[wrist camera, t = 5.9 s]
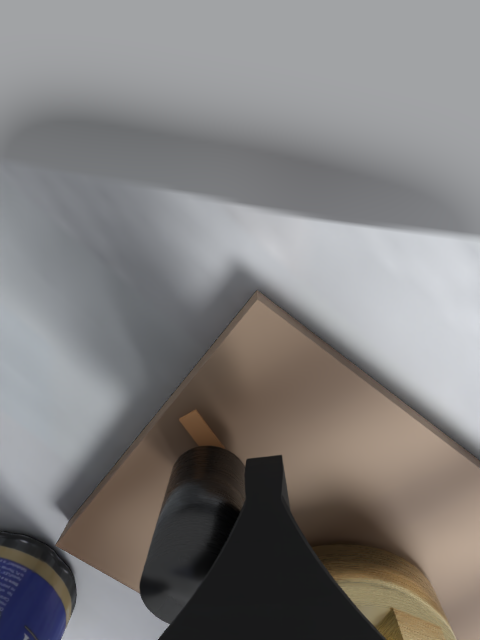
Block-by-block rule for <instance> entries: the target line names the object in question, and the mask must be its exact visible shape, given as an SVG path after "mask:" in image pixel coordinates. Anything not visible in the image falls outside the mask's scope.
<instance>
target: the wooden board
mask: <svg viewBox="0 0 480 640" xmlns="http://www.w3.org/2000/svg"><path fill="white" fill-rule="evenodd" d="M199 446H217V447H221V448H224V449H226V450H228V451H230V452H232V453H234V454H235V455H236V456H237V457H238V458H239V459H240V460H241V461H242V462H243V464H244V466H245V465H246V459H249V458H258V457H267V456H275V455H282V458H283V465H284V471H285V478H286V484H287V491H288V497H289V504H290V510H291V513H292V515H293V517H294V519H295V521H296V523H297V524H298V526H299V528H300V529H301V531H302V533H303V535H304V536H305V538H306V539H307V541H308V543H309V544H310V546H311V547H315V546H320V545H326V544H339V543H340V544H359V545H367V546H371V547H376V548H380V549H383V550H386V551H389V552H391V553H394V554H396V555H398V556H400V557H402V558H404V559H405V560H407V561H408V562H410V563H411V564H413V565H414V566H415V567H417V568H418V569H419V570H420V571H421V572H422V573H423V574H424V575H425V577H426V578H427V579H428V580H429V582H430V583H431V585H432V587H433V588H434V590H435V593H436V595H437V597H438V599H439V602H440V604H441V606H442V608H443V610H444V613H445V615H446V617H447V619H448V622H449V624H450V626H451V628H452V631H453V633H454V635H455V637H456V639H457V640H480V460H478V459H477V458H476V457H475V456H473V455H472V454H471V453H469V452H468V451H467V450H465V449H464V448H463V447H461V446H460V445H459V444H458V443H456V442H455V441H454V440H452V439H451V438H450V437H448V436H447V435H446V434H444V433H443V432H442V431H441V430H439V429H438V428H437V427H435V426H434V425H433V424H431V423H430V422H429V421H428V420H426V419H425V418H424V417H422V416H421V415H420V414H418V413H417V412H416V411H414V410H413V409H412V408H411V407H409V406H408V405H407V404H405V403H404V402H403V401H401V400H400V399H399V398H398V397H396V396H395V395H394V394H392V393H391V392H390V391H388V390H387V389H386V388H384V387H383V386H382V385H381V384H379V383H378V382H377V381H375V380H374V379H373V378H371V377H370V376H369V375H367V374H366V373H365V372H364V371H362V370H361V369H360V368H358V367H357V366H356V365H354V364H353V363H352V362H351V361H349V360H348V359H347V358H345V357H344V356H343V355H341V354H340V353H339V352H337V351H336V350H335V349H334V348H332V347H331V346H330V345H328V344H327V343H326V342H324V341H323V340H322V339H321V338H319V337H318V336H317V335H315V334H314V333H313V332H311V331H310V330H309V329H307V328H306V327H305V326H304V325H302V324H301V323H300V322H298V321H297V320H296V319H294V318H293V317H292V316H290V315H289V314H288V313H287V312H285V311H284V310H283V309H281V308H280V307H279V306H277V305H276V304H275V303H274V302H272V301H271V300H270V299H268V298H267V297H266V296H264V295H263V294H262V293H260V292H259V291H258V290H257V291H256V292H255V293H254V294H253V296H252V297H251V298H250V299H249V301H248V302H247V303H246V304H245V306H244V307H243V308H242V309H241V310H240V312H239V313H238V314H237V315H236V317H235V318H234V319H233V320H232V321H231V323H230V324H229V325H228V326H227V328H226V329H225V330H224V331H223V333H222V334H221V335H220V336H219V337H218V339H217V340H216V341H215V342H214V344H213V345H212V346H211V347H210V349H209V350H208V351H207V352H206V353H205V355H204V356H203V357H202V358H201V360H200V361H199V362H198V363H197V365H196V366H195V367H194V368H193V369H192V371H191V372H190V373H189V374H188V376H187V377H186V378H185V379H184V380H183V382H182V383H181V384H180V385H179V387H178V388H177V389H176V390H175V392H174V393H173V394H172V395H171V396H170V398H169V399H168V400H167V401H166V403H165V404H164V405H163V406H162V408H161V409H160V410H159V411H158V412H157V414H156V415H155V416H154V417H153V419H152V420H151V421H150V422H149V424H148V425H147V426H146V427H145V428H144V430H143V431H142V432H141V433H140V435H139V436H138V437H137V438H136V439H135V441H134V442H133V443H132V444H131V446H130V447H129V448H128V449H127V451H126V452H125V453H124V454H123V455H122V457H121V458H120V459H119V460H118V462H117V463H116V464H115V465H114V467H113V468H112V469H111V470H110V471H109V473H108V474H107V475H106V476H105V478H104V479H103V480H102V481H101V482H100V484H99V485H98V486H97V487H96V489H95V490H94V491H93V492H92V494H91V495H90V496H89V497H88V498H87V500H86V501H85V502H84V503H83V505H82V506H81V507H80V508H79V510H78V511H77V512H76V513H75V514H74V516H73V517H72V518H71V519H70V521H69V522H68V524H67V525H66V527H65V529H64V531H63V533H62V535H61V536H60V538H59V540H58V542H57V544H56V545H55V546H57V547H59V548H61V549H62V550H64V551H66V552H68V553H69V554H71V555H73V556H75V557H76V558H78V559H80V560H82V561H83V562H85V563H87V564H89V565H91V566H92V567H94V568H96V569H98V570H99V571H101V572H103V573H105V574H106V575H108V576H110V577H112V578H113V579H115V580H117V581H119V582H120V583H122V584H124V585H126V586H128V587H129V588H131V589H133V590H135V591H136V592H138V593H140V589H139V586H140V579H141V576H142V572H143V569H144V565H145V562H146V558H147V555H148V551H149V548H150V544H151V541H152V537H153V534H154V530H155V527H156V523H157V520H158V517H159V513H160V510H161V506H162V503H163V499H164V496H165V492H166V489H167V485H168V482H169V478H170V475H171V471H172V468H173V465H174V463H175V462H176V460H177V459H178V458H179V456H181V455H182V454H183V453H184V452H186V451H188V450H190V449H192V448H195V447H199Z"/></svg>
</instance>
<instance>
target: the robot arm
mask: <svg viewBox="0 0 480 640" xmlns="http://www.w3.org/2000/svg"><path fill="white" fill-rule="evenodd" d="M244 480H245V494H246V499H245V502H244V504H243V507H242V509H241V512H240V514H239V516H238V518H237V520H236V522H235V524H234V526H233V528H232V530H231V533H230V535H229V537H228V539H227V541H226V542H225V544H224V546H223V548H222V550H221V551H220V553H219V555H218V557H217V558H216V560H215V562H214V563H213V565H212V567H211V568H210V570H209V572H208V573H207V575H206V576H205V578H204V579H203V581H202V582H201V584H200V585H199V587H198V588H197V589H196V591H195V592H194V594H193V595H192V597H191V598H190V599H189V601H188V602H187V604H186V605H185V606H184V608H183V609H182V610H181V611H180V613H179V614H178V615H177V616H176V618H175V619H174V620H173V621H172V623H171V624H170V625H169V626H168V628H167V629H166V630H165V631H164V633H163V634H162V635H161V636H160V638H159V639H158V640H387V639H386V638H385V637H384V636H383V635H382V634H381V633H380V632H379V631H378V630H377V629H376V628H375V627H374V626H373V624H372V623H371V622H370V621H369V620H368V619H367V618H366V617H365V616H364V615H363V614H362V612H361V611H360V610H359V609H358V608H357V606H356V605H355V604H354V603H353V602H352V600H351V599H350V598H349V597H348V596H347V594H346V593H345V592H344V591H343V590H342V588H341V587H340V586H339V585H338V583H337V582H336V581H335V580H334V578H333V577H332V576H331V574H330V573H329V572H328V570H327V569H326V568H325V566H324V565H323V563H322V562H321V561H320V559H319V558H318V556H317V555H316V553H315V552H314V550H313V549H312V547H311V546H310V544H309V543H308V541H307V539H306V538H305V536H304V535H303V533H302V531H301V529H300V528H299V526H298V524H297V523H296V521H295V519H294V517H293V515H292V513H291V510H290V504H289V497H288V491H287V484H286V478H285V471H284V465H283V458H282V455H275V456H267V457H258V458H249V459H246V465H245V473H244Z"/></svg>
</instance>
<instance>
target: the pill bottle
mask: <svg viewBox="0 0 480 640" xmlns="http://www.w3.org/2000/svg"><path fill="white" fill-rule="evenodd" d="M76 596H77V594H76V585H75V581H74V577H73V575H72V573H71V571H70V569H69V567H68V566H67V565H66V564H65V563H64V562H63V561H62V560H61V559H60V558H59V557H58V556H57V555H56V553H55V552H54V550H52V549H51V548H49V547H48V546H47V545H45V544H44V543H42V542H40V541H37V540H35V539H32V538H30V537H28V536H25V535H21V534H11V533H7V532H0V640H61V638H62V636H63V633H64V631H65V629H66V626H67V624H68V622H69V619H70V617H71V615H72V612H73V610H74V607H75V603H76Z"/></svg>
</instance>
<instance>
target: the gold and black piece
mask: <svg viewBox="0 0 480 640" xmlns="http://www.w3.org/2000/svg"><path fill="white" fill-rule="evenodd" d="M244 473H245V466H244V464H243V462H242V461H241V460H240V459H239V458H238V457H237V456H236V455H235V454H234V453H232V452H230V451H228V450H226V449H224V448H221V447H217V446H199V447H195V448H192V449H190V450H188V451H186V452H184V453H183V454H182V455H181V456H179V458H178V459H177V460H176V462H175V463H174V465H173V468H172V471H171V475H170V478H169V482H168V485H167V489H166V492H165V496H164V499H163V503H162V506H161V510H160V513H159V517H158V520H157V523H156V527H155V530H154V534H153V537H152V541H151V544H150V548H149V551H148V555H147V558H146V562H145V565H144V569H143V572H142V576H141V579H140V586H139V589H140V594H141V598H142V600H143V602H144V604H145V605H146V607H147V608H148V609H149V610H150V611H151V612H152V613H153V614H154V615H155V616H156V617H158V618H159V619H161V620H163V621H165V622H166V623H169V624H171V623H172V621H173V620H174V619H175V618H176V616H177V615H178V614H179V613H180V611H181V610H182V609H183V608H184V606H185V605H186V604H187V602H188V601H189V599H190V598H191V597H192V595H193V594H194V592H195V591H196V589H197V588H198V587H199V585H200V584H201V582H202V581H203V579H204V578H205V576H206V575H207V573H208V572H209V570H210V568H211V567H212V565H213V563H214V562H215V560H216V558H217V557H218V555H219V553H220V551H221V550H222V548H223V546H224V544H225V542H226V541H227V539H228V537H229V535H230V533H231V530H232V528H233V526H234V524H235V522H236V520H237V518H238V516H239V514H240V512H241V509H242V507H243V504H244V502H245V499H246V494H245V480H244ZM312 549H313V550H314V552H315V553H316V555H317V556H318V558H319V559H320V561H321V562H322V563H323V565H324V566H325V568H326V569H327V570H328V572H329V573H330V574H331V576H332V577H333V578H334V580H335V581H336V582H337V583H338V585H339V586H340V587H341V588H342V590H343V591H344V592H345V593H346V594H347V596H348V597H349V598H350V599H351V600H352V602H353V603H354V604H355V605H356V606H357V608H358V609H359V610H360V611H361V612H362V614H363V615H364V616H365V617H366V618H367V619H368V620H369V621H370V622H371V623H372V624H373V626H374V627H375V628H376V629H377V630H378V631H379V632H380V633H381V634H382V635H383V636H384V637H385V638H386V639H387V640H457V639H456V637H455V635H454V633H453V631H452V628H451V626H450V624H449V622H448V619H447V617H446V615H445V613H444V610H443V608H442V606H441V604H440V602H439V599H438V597H437V595H436V593H435V590H434V588H433V587H432V585H431V583H430V582H429V580H428V579H427V578H426V577H425V575H424V574H423V573H422V572H421V571H420V570H419V569H418V568H417V567H415V566H414V565H413V564H411V563H410V562H408V561H407V560H405V559H404V558H402V557H400V556H398V555H396V554H394V553H391V552H389V551H386V550H383V549H380V548H376V547H371V546H367V545H359V544H340V543H339V544H326V545H320V546H315V547H312Z"/></svg>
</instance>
